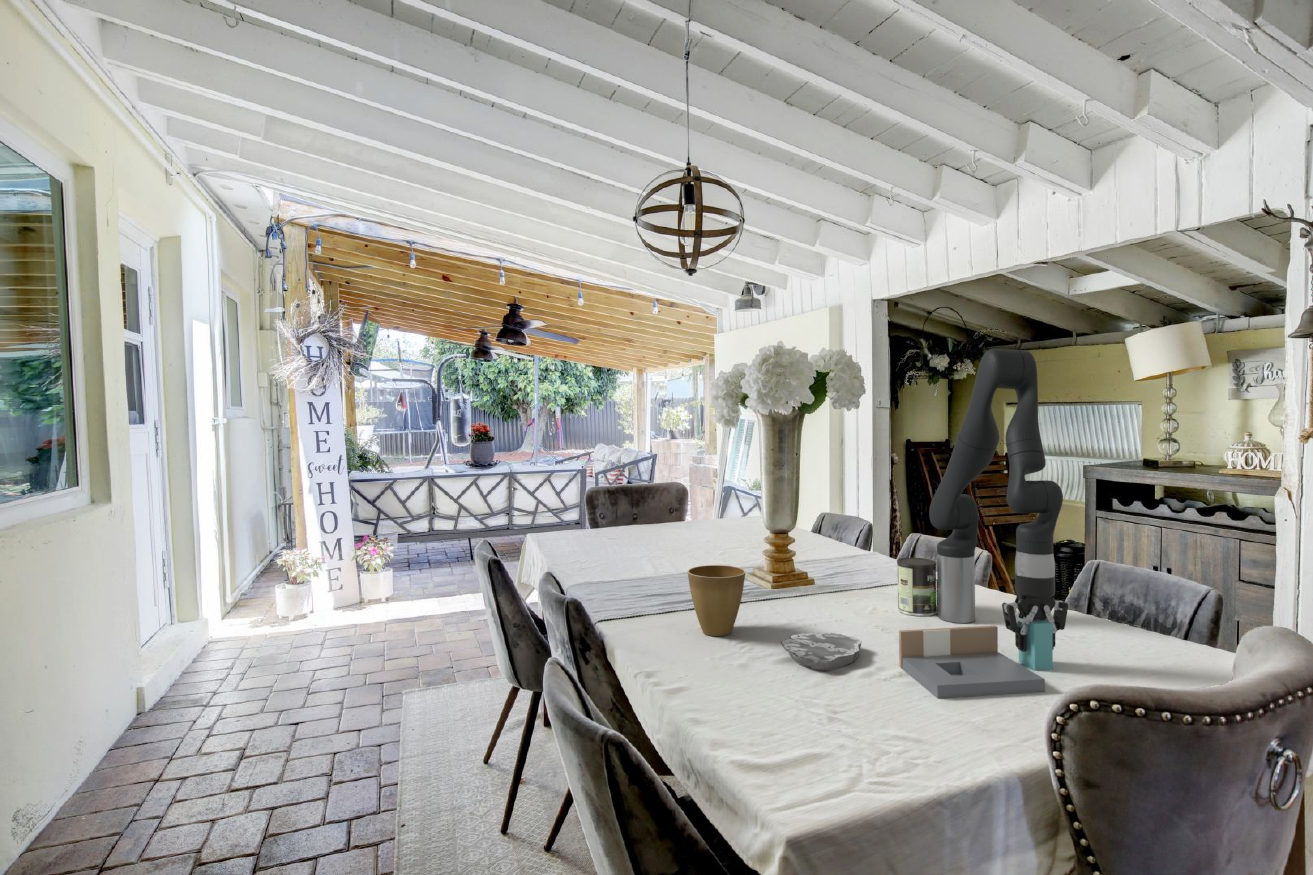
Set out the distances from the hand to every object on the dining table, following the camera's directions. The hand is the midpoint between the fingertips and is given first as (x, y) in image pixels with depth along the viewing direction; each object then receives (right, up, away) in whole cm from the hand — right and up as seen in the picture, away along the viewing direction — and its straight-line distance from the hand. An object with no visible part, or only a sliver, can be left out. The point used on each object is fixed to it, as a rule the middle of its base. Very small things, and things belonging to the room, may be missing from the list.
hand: (1035, 649), depth 144 cm
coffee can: (-9, -3, +41) cm, 43 cm away
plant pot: (-66, -4, +28) cm, 72 cm away
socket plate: (-17, -4, -7) cm, 19 cm away
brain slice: (-45, -5, +8) cm, 46 cm away
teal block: (0, -3, 0) cm, 3 cm away
